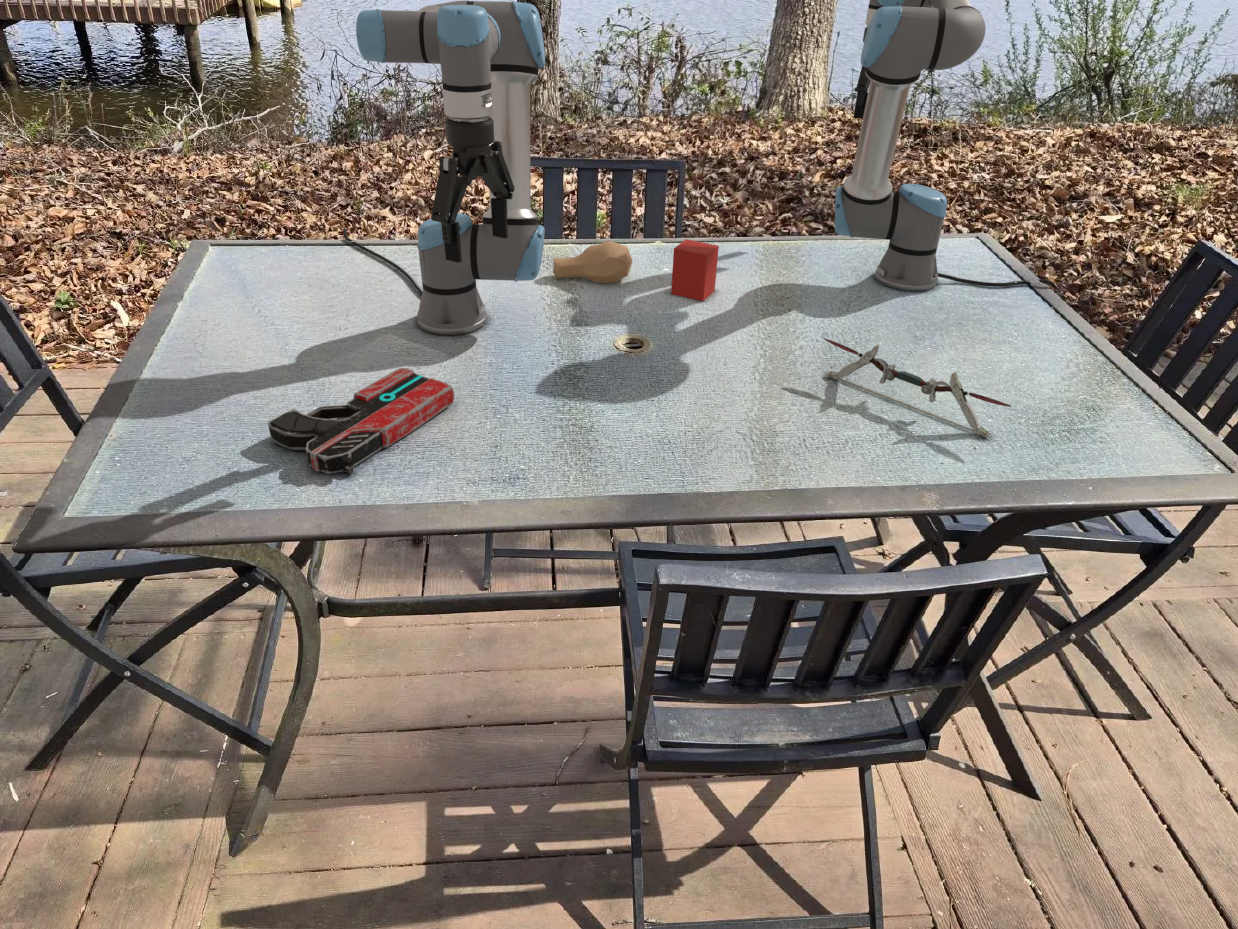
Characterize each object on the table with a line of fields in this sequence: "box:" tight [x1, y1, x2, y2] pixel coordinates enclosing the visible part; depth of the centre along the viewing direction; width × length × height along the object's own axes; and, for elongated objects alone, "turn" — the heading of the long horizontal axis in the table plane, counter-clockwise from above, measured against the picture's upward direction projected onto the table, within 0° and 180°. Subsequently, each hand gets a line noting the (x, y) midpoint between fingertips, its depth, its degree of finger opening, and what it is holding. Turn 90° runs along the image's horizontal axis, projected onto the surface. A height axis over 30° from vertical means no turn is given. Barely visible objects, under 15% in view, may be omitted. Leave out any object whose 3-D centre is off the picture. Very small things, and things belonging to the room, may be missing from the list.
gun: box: [266, 367, 456, 475], centre depth 158 cm, size 4×31×19 cm
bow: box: [822, 337, 1012, 438], centre depth 167 cm, size 39×2×10 cm, turn 47°
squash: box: [552, 240, 633, 284], centre depth 218 cm, size 11×20×9 cm, turn 90°
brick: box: [670, 239, 720, 302], centre depth 211 cm, size 7×8×12 cm
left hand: (477, 248), depth 149 cm, fingers open, 13 cm apart
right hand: (865, 113), depth 239 cm, fingers open, 13 cm apart
